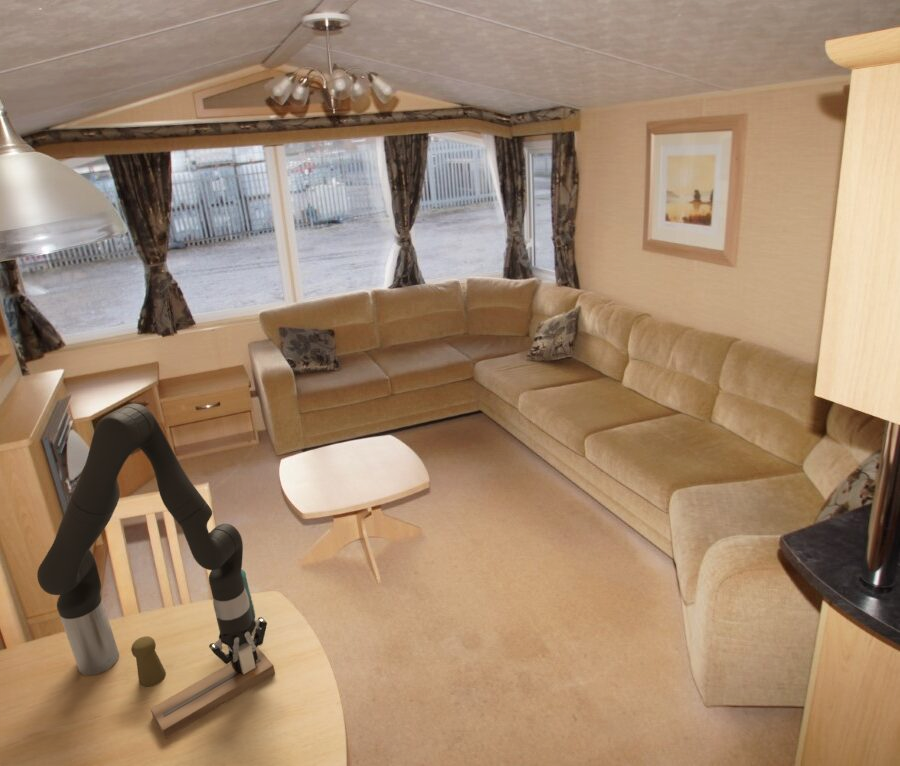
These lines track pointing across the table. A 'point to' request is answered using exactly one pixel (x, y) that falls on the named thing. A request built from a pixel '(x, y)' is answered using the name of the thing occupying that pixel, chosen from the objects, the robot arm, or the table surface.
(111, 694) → the table surface
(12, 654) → the table surface
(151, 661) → the cork
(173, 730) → the console track
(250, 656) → the fader tab
